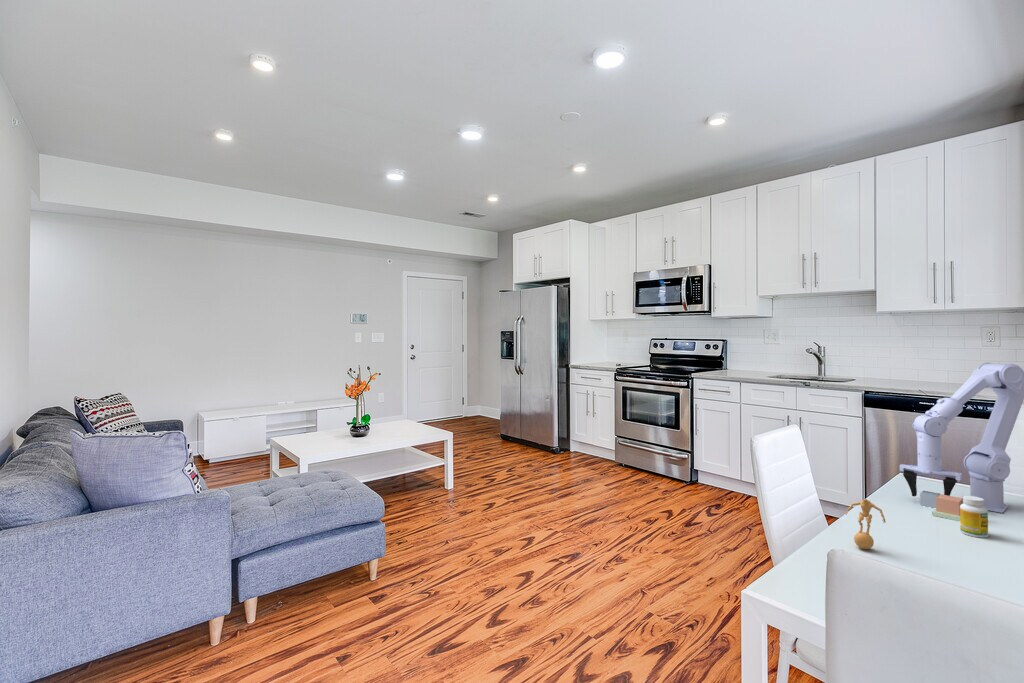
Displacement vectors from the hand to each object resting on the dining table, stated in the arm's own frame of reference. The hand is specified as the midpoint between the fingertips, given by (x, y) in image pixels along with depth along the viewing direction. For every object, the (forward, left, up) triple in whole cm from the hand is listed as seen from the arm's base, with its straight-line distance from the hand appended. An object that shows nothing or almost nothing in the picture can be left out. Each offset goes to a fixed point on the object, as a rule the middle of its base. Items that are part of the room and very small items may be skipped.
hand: (930, 498), depth 151 cm
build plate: (+6, +6, -2) cm, 9 cm away
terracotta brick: (+6, +6, -1) cm, 9 cm away
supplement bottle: (+19, +13, -2) cm, 23 cm away
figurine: (+50, -2, -2) cm, 50 cm away
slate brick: (0, 0, -2) cm, 2 cm away
